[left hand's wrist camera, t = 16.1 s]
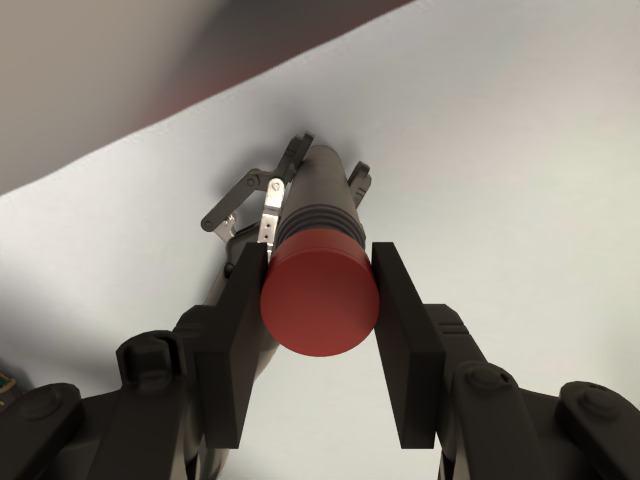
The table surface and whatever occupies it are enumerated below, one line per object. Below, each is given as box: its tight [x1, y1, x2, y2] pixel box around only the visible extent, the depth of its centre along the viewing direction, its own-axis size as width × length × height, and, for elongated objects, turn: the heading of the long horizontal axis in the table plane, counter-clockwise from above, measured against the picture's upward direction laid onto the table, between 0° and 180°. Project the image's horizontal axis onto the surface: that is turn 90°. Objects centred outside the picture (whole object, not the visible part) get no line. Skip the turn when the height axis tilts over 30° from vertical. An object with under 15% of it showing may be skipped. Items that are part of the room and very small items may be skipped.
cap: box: [260, 228, 380, 357], centre depth 14 cm, size 4×4×2 cm
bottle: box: [275, 145, 365, 251], centre depth 25 cm, size 4×4×25 cm
